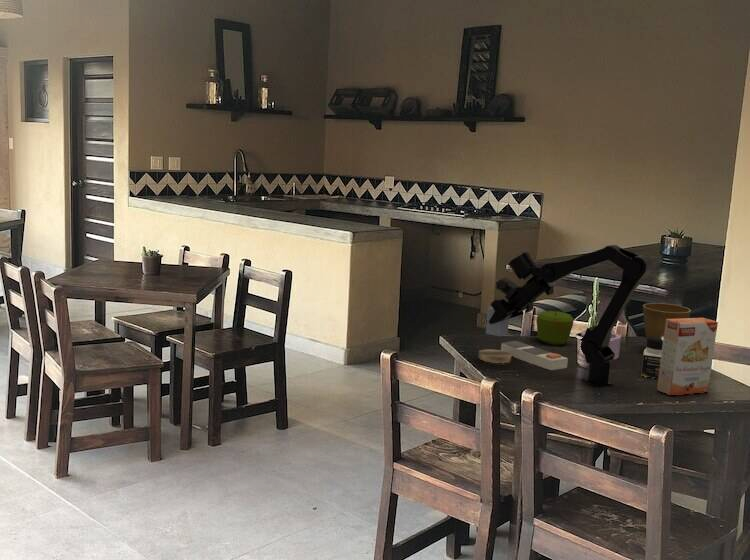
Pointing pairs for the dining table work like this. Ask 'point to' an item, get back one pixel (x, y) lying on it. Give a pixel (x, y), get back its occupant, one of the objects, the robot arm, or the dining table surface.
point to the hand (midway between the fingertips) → (493, 321)
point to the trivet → (494, 356)
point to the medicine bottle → (652, 357)
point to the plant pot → (661, 317)
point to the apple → (554, 327)
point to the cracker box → (686, 356)
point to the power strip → (535, 355)
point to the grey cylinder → (496, 325)
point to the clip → (612, 343)
